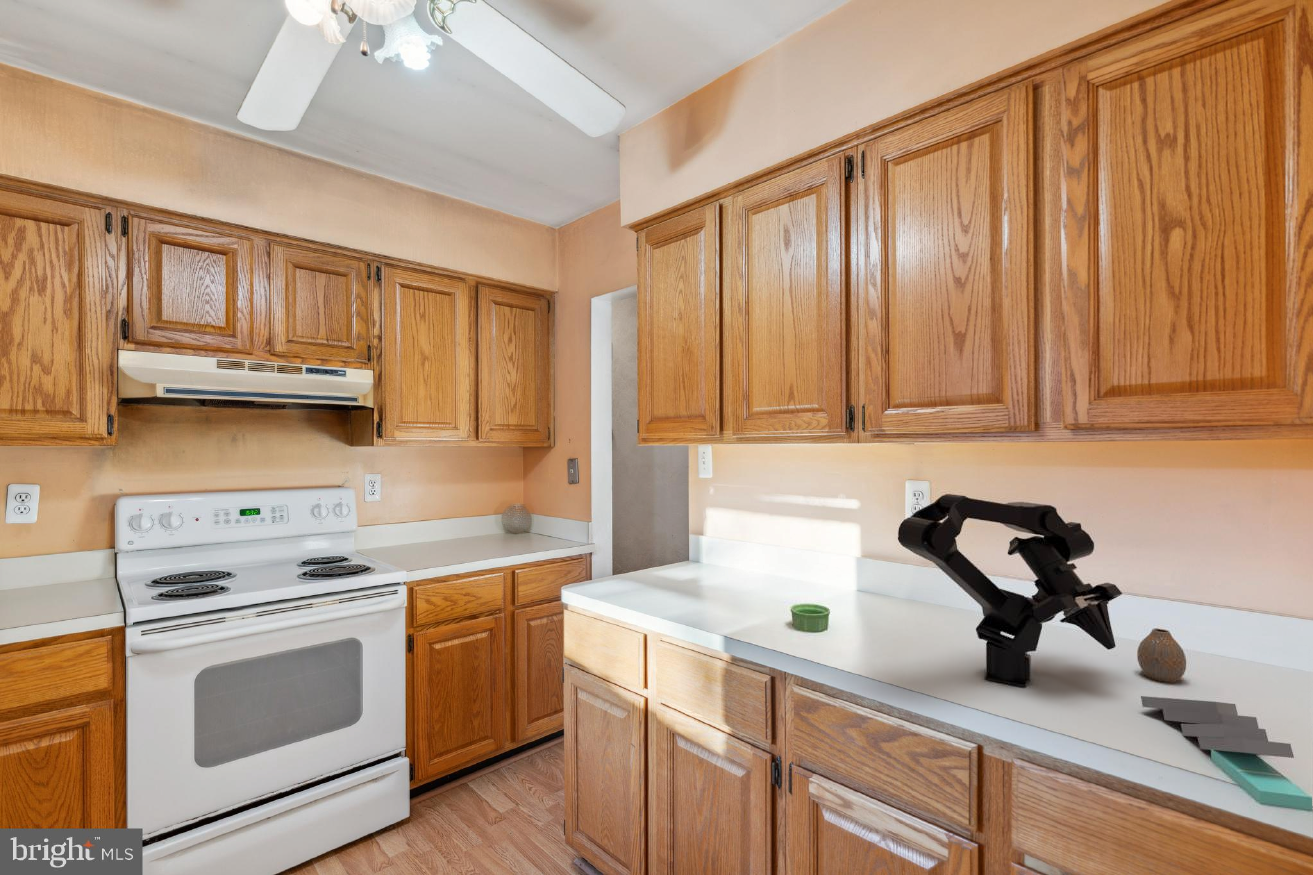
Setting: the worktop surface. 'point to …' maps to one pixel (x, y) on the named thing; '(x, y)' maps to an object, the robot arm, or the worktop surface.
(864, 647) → the worktop surface
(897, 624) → the worktop surface
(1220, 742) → the domino
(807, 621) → the ramekin
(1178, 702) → the domino
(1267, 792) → the domino
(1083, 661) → the worktop surface
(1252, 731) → the domino
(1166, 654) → the vase
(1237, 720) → the domino
